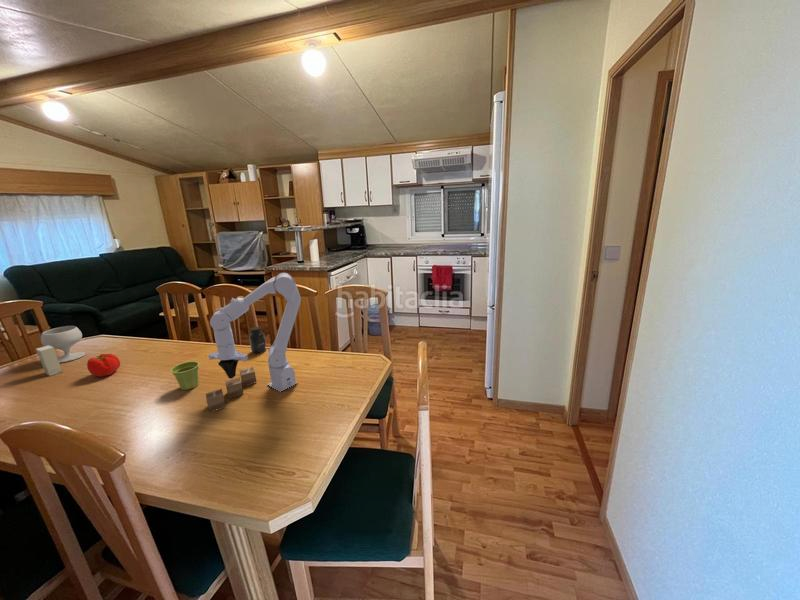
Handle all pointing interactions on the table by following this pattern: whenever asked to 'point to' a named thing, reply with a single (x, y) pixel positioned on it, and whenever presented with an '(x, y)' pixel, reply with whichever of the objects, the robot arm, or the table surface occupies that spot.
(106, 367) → the tomato
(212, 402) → the block one
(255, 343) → the supplement bottle
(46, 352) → the skincare box
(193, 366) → the plant pot
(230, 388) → the plain block
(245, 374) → the block seven
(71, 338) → the chalice
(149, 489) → the table surface
